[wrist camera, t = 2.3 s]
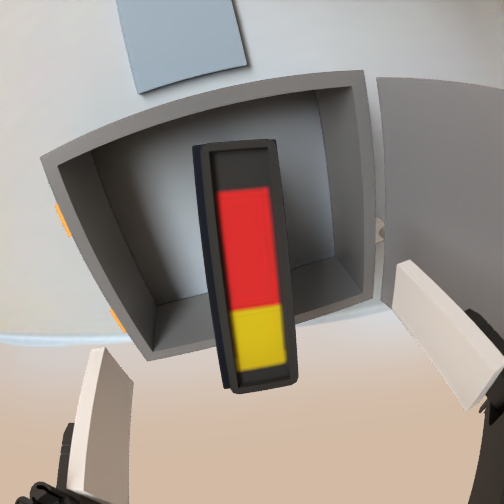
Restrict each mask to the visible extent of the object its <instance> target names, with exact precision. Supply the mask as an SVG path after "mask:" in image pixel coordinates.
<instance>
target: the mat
mask: <svg viewBox="0 0 504 504" xmlns="http://www.w3.org/2000/svg"><path fill="white" fill-rule="evenodd" d="M116 3H117V8H118V13H119V18H120V23H121V28H122V32H123V37H124V41H125V46H126V50H127V54H128V58H129V63H130V67H131V71H132V75H133V78H134V82H135V86H136V90H137V94H141V93H144V92H147V91H150V90H153V89H156V88H159V87H162V86H165V85H168V84H172V83H175V82H178V81H182V80H185V79H189V78H193V77H196V76H200V75H204V74H208V73H213V72H217V71H222V70H226V69H231V68H236V67H241V66H246V65H247V62H246V58H245V54H244V50H243V45H242V41H241V37H240V33H239V29H238V25H237V21H236V17H235V13H234V9H233V5H232V2H231V0H116Z"/></svg>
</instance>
